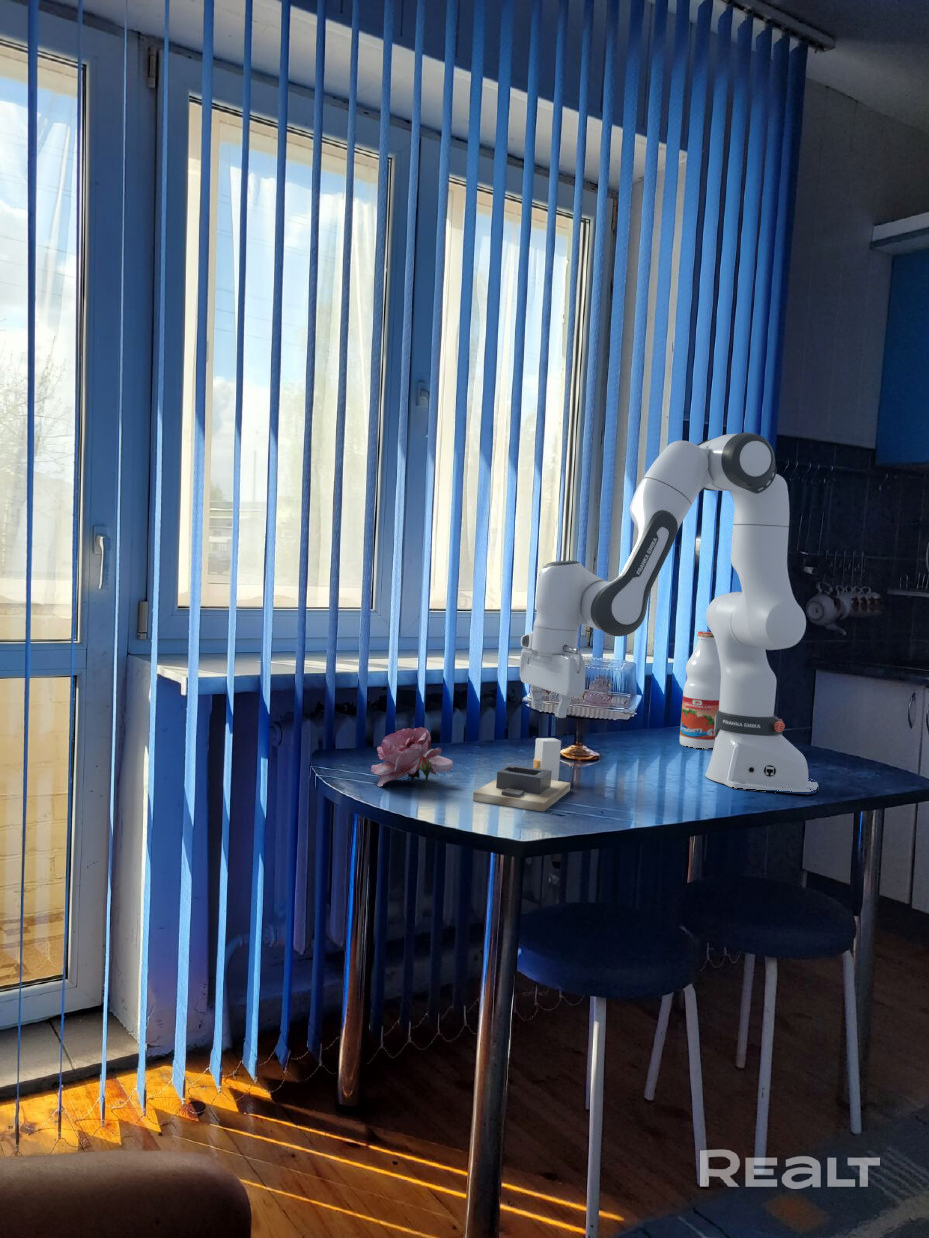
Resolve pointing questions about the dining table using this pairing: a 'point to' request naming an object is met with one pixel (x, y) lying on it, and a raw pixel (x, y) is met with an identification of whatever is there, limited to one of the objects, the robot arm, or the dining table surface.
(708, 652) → the fruit juice
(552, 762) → the plug
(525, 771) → the box
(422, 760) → the flower
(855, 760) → the dining table surface
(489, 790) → the board
